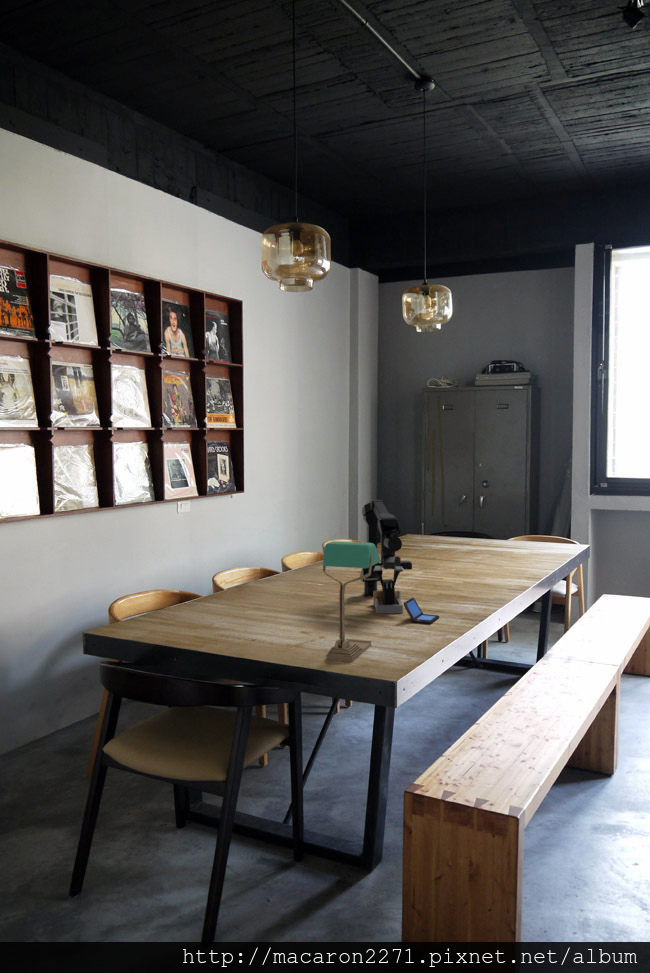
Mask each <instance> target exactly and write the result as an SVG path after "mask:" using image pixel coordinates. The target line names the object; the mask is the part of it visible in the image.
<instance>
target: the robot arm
mask: <svg viewBox="0 0 650 973" xmlns="http://www.w3.org/2000/svg"><path fill="white" fill-rule="evenodd" d="M361 515H362V516H363V517H362V518H363V519H362V520H363V521H364V522H365V524H366V543H373V544H374V545H375V546H376V548H377V549H378V531H379V534H380V560H381V561H380V562H378V563H377V564H375V565H373V566H372V568H371V575H370V576H369V577H367V578H364V579H360V580H359V581H360V582H362V583H364V584H363V587H364V588H363V592H362V595H363V596H364V597H373V591H378V582H380V586H381V588H382V587H383V580H384V579H383V572H384V571H383V570H382V569H384V570H393V576H392V577H393V578H392V580H393V582H394V587H396V586H395V585H396V582H397V581H398V580H397V579H398V576H399V575H400V573H402V572H404V570H413V563H412V561H410V560H401V556H399V555H398V556H396V552H399V551H400V550H401V549H402V546H403V542H402V540H401V538H399V537H398V535H401V527H400V526H401V525H400V522H399V520H398V519H397V517H396V516H395V515H394V514H393V513H392V514H391V513H390V512H388V510H387V508H386V506H385V505H384V501H383V500H382V499H372V500H370V502H367V503H365V504H364V505H363V507H362V508H361ZM368 573H369V568H361V570H360V575H359V577H361V576H364V575H366V574H368Z"/></svg>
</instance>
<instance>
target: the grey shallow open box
mask: <svg viewBox="0 0 650 973" xmlns="http://www.w3.org/2000/svg"><path fill="white" fill-rule="evenodd" d="M374 608H375V611H376V613H377V614H403V613H404V604H403V603H402V601H400V599H399V598H396V604H395V605H383V604H381V605H379V602H378V600H377V598H375V605H374Z"/></svg>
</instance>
